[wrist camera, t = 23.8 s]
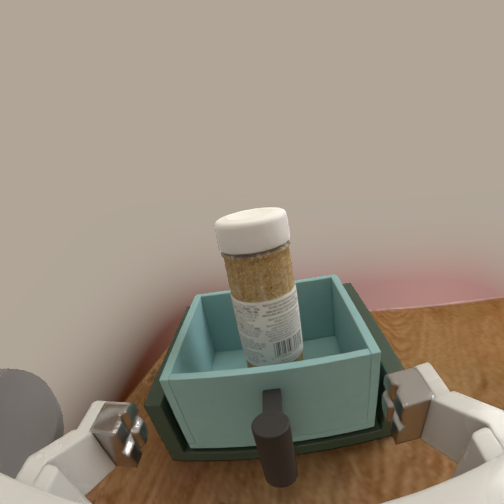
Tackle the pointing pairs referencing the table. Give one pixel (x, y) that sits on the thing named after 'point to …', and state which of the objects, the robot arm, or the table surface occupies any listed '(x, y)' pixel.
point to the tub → (273, 379)
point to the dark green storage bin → (181, 450)
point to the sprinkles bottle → (262, 284)
